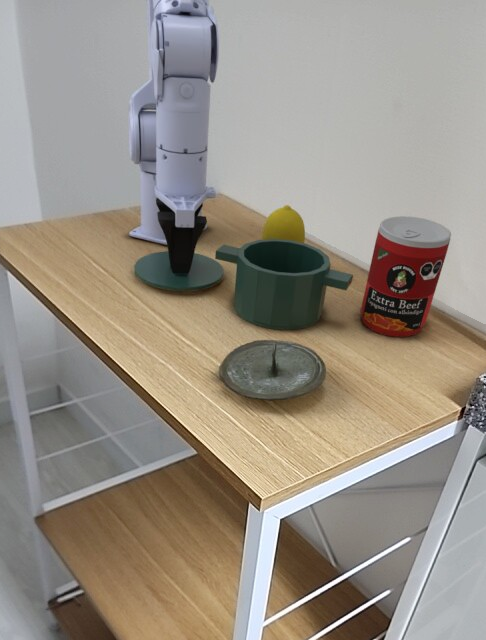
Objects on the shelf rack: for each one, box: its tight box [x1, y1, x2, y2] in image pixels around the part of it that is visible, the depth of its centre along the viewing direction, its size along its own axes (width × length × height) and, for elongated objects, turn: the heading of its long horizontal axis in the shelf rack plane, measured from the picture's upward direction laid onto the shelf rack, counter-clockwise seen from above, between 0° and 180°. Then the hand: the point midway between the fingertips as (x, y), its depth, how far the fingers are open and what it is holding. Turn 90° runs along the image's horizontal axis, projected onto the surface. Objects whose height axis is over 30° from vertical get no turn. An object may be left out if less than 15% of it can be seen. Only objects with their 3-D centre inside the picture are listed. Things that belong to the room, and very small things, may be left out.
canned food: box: [360, 215, 452, 338], centre depth 72 cm, size 8×8×11 cm
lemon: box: [261, 204, 306, 243], centre depth 83 cm, size 6×6×8 cm
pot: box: [214, 239, 354, 331], centre depth 74 cm, size 10×16×6 cm, turn 67°
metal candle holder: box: [218, 339, 327, 402], centre depth 62 cm, size 11×10×5 cm
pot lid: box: [133, 250, 225, 292], centre depth 79 cm, size 11×11×5 cm
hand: (179, 265), depth 80 cm, fingers open, 3 cm apart
